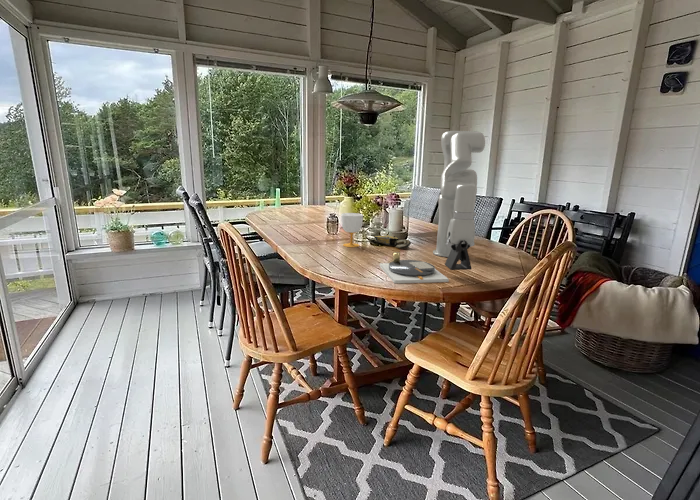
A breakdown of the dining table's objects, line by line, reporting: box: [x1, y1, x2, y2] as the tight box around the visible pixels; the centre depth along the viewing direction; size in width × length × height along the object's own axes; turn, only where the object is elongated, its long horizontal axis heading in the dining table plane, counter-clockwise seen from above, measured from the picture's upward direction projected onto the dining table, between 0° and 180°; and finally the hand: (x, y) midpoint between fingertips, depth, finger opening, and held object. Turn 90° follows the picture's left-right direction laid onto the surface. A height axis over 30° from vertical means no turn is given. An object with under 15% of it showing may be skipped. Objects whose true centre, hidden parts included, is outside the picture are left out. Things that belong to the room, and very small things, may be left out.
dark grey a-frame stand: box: [444, 240, 472, 271], centre depth 154 cm, size 9×6×12 cm, turn 99°
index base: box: [379, 262, 450, 284], centre depth 160 cm, size 22×24×2 cm
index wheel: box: [389, 251, 436, 276], centre depth 160 cm, size 19×19×6 cm
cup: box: [340, 212, 364, 248], centre depth 206 cm, size 12×12×17 cm
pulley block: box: [374, 234, 412, 250], centre depth 213 cm, size 14×6×30 cm
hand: (458, 260), depth 155 cm, fingers closed on dark grey a-frame stand, 1 cm apart
